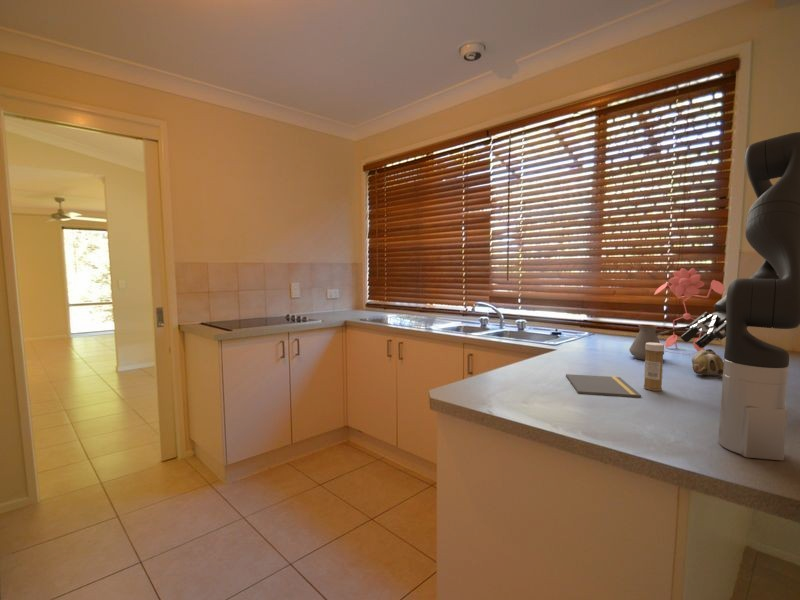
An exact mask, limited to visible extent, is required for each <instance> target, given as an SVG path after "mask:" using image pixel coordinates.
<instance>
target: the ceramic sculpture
mask: <svg viewBox="0 0 800 600" xmlns="http://www.w3.org/2000/svg"><path fill="white" fill-rule="evenodd" d="M691 364H692V371H693V372H694V373H695V374H696V375H705V376H718V375H720V374H721V375H722V376H723V366H724V359H722V357H721V356H720V355H719V354H717V353H716V352H715V351H714V350H712V349H709V348H707V349H705V348H704V349H702V350H701V351H699V352H698V351H697V352H696V353H695V354H694V355H693V356H692V358H691Z"/></svg>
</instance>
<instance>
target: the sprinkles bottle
mask: <svg viewBox="0 0 800 600" xmlns="http://www.w3.org/2000/svg"><path fill="white" fill-rule="evenodd" d="M645 349H646V358H645V360H644V374H643V375H644V376H643V378H644V383H643V388H644V389H646V390H649V391H651V392H652V391H653V392H658V391H662V389H663V387H662V383H663V382H662V381H663V372H664V371H663V370H664V369H663V363H664V362H663V361H664V355H663V351H664V352H665V343H664V344H663V343H661V342H660V343H653V342H649V343H646V345H645Z"/></svg>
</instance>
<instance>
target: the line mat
mask: <svg viewBox="0 0 800 600" xmlns="http://www.w3.org/2000/svg"><path fill="white" fill-rule="evenodd" d="M565 377H566V378H567V379H568V382H570V384H571V385H572V387H573V388H574V390H575V391H576V393H578V394H583V395H584V394H585V395H597V396H599V395H600V396H601V395H602V396H615V397H629V398H631V397H632V398H642V394H640V393H639V392H638V391H637V390H636V389H634V387H632V386H631V385H630V384H629V383H627V382H626V381H625V380H624V379H622V377H620V376H613V375H611V376H604V375H587V374H586V375H584V374H571V373H569V374H565Z"/></svg>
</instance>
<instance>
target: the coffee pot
mask: <svg viewBox="0 0 800 600" xmlns="http://www.w3.org/2000/svg"><path fill="white" fill-rule="evenodd" d="M637 327H639V332H638V333H637V335H636V336H635V338H634V340H633V341H632V344H631V346H630V347H629V349H628V350H629V353H630V354H631V355H632V356H633V357H634V359H637V360H641V361H642V360H643V361H645V358H646V349H645V345H646V343H649V342H653V343H661V342H660V339H659V338H658V336H661V335H664V334H668V333H669V334H670V333H673V332H674V333H676V332H680V331H684V330H686V329H688V330H689V329H691V328H690V326H689V324H688V325H686V326H679V327H676V328H675V327H674V329H673V328H672V329H670V330H665V331H660V332H656V330H657V328H658V327H659V326H658V325H653V324H638V325H637ZM664 355H665V350H664V351H663V356H664Z"/></svg>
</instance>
